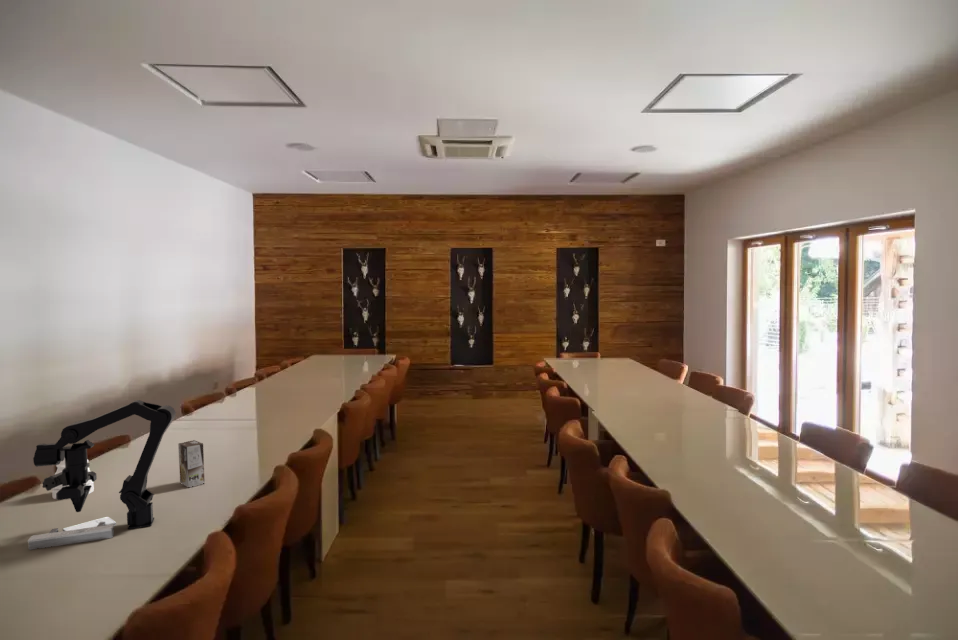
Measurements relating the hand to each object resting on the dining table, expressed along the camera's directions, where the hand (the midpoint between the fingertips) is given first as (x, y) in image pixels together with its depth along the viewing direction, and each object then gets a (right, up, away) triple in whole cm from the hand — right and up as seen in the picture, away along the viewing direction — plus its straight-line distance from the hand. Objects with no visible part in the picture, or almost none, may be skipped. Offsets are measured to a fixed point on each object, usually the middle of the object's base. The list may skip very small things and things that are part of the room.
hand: (78, 511), depth 178 cm
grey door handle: (+2, -7, -5) cm, 8 cm away
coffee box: (+13, -4, +45) cm, 47 cm away
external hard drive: (+1, -7, +3) cm, 8 cm away
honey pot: (-27, -5, +36) cm, 45 cm away
